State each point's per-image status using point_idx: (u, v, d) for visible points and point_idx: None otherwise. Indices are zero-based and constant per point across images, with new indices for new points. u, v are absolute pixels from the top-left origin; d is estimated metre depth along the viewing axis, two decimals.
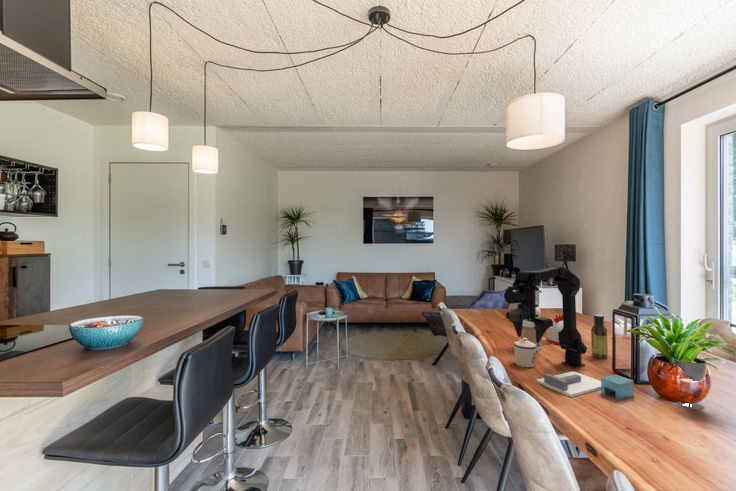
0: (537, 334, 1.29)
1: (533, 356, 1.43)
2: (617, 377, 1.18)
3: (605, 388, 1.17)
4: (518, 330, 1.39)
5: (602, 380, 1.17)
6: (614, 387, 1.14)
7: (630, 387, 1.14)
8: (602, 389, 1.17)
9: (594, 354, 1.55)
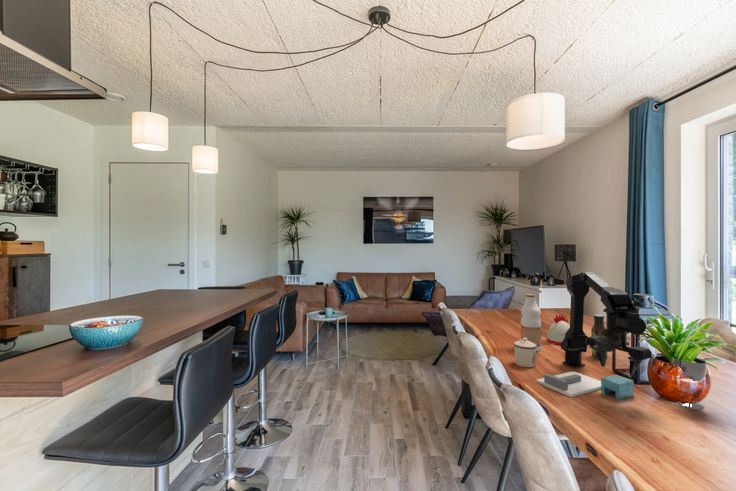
0: (631, 366, 1.11)
1: (533, 356, 1.43)
2: (617, 377, 1.18)
3: (605, 388, 1.17)
4: (602, 359, 1.21)
5: (602, 380, 1.17)
6: (614, 387, 1.14)
7: (630, 387, 1.14)
8: (602, 389, 1.17)
9: (594, 354, 1.55)
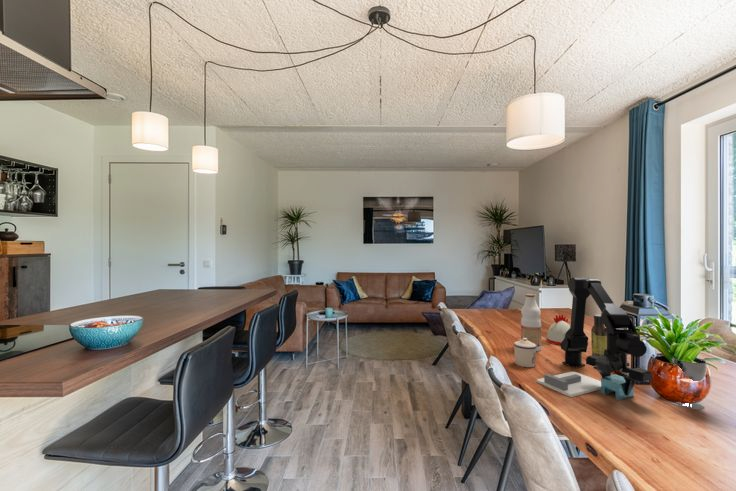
0: (627, 386, 1.12)
1: (533, 356, 1.43)
2: (617, 377, 1.18)
3: (605, 388, 1.17)
4: None
5: (602, 380, 1.17)
6: (614, 387, 1.14)
7: None
8: (602, 389, 1.17)
9: (594, 354, 1.55)
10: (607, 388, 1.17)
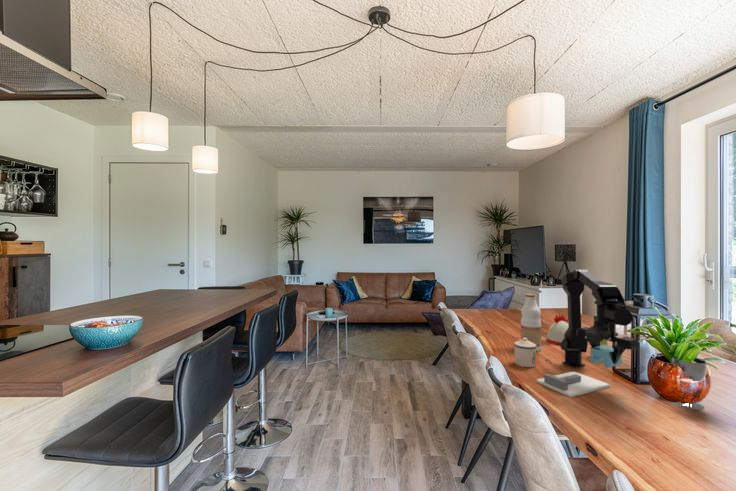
0: (615, 354, 1.17)
1: (533, 356, 1.43)
2: (606, 347, 1.22)
3: (594, 357, 1.21)
4: None
5: (591, 349, 1.22)
6: (603, 355, 1.18)
7: None
8: (591, 358, 1.22)
9: None
10: (596, 357, 1.22)
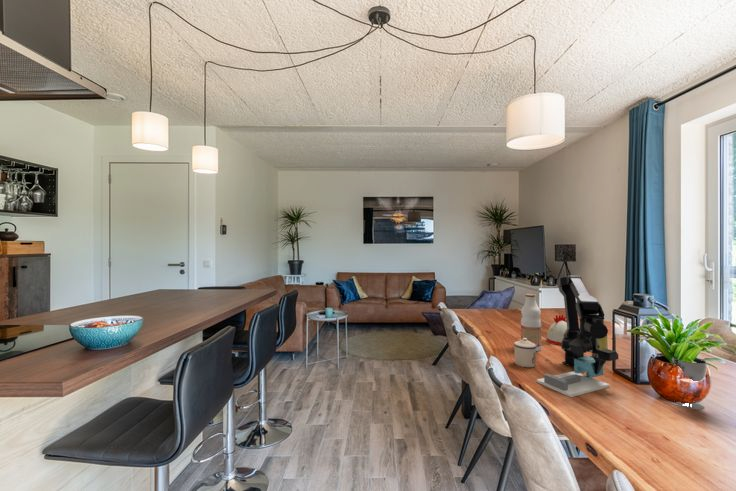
0: (597, 365, 1.25)
1: (533, 356, 1.43)
2: (589, 358, 1.30)
3: (578, 368, 1.29)
4: None
5: (575, 361, 1.29)
6: (585, 366, 1.26)
7: None
8: (575, 368, 1.30)
9: (594, 354, 1.55)
10: (579, 368, 1.29)
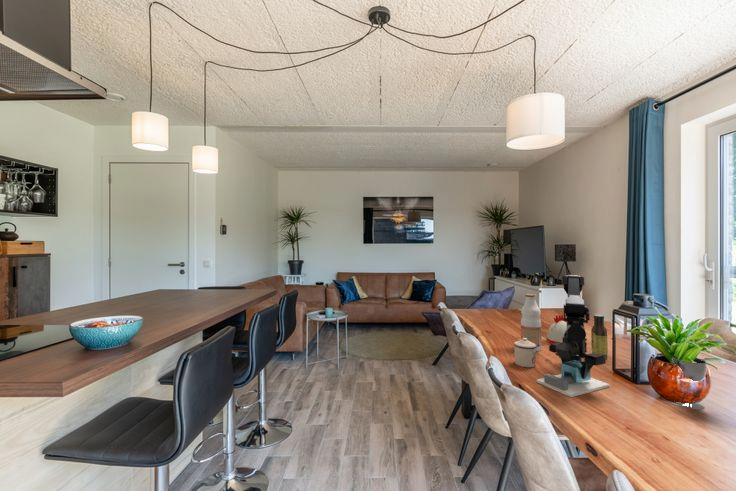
0: (584, 370, 1.21)
1: (533, 356, 1.43)
2: (576, 362, 1.27)
3: (565, 372, 1.26)
4: None
5: (562, 365, 1.26)
6: (572, 371, 1.23)
7: None
8: (562, 373, 1.26)
9: None
10: (567, 372, 1.26)
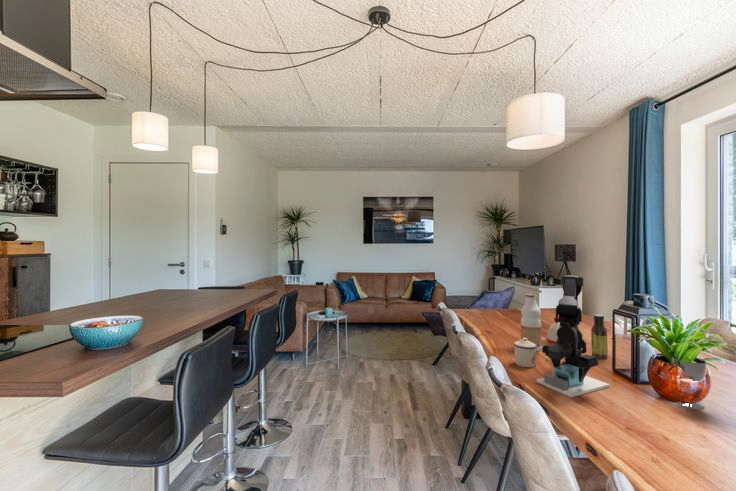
0: (580, 373, 1.19)
1: (533, 356, 1.43)
2: (569, 366, 1.25)
3: (557, 376, 1.25)
4: (556, 366, 1.28)
5: (555, 369, 1.25)
6: (564, 375, 1.21)
7: None
8: None
9: (594, 354, 1.55)
10: (559, 377, 1.25)
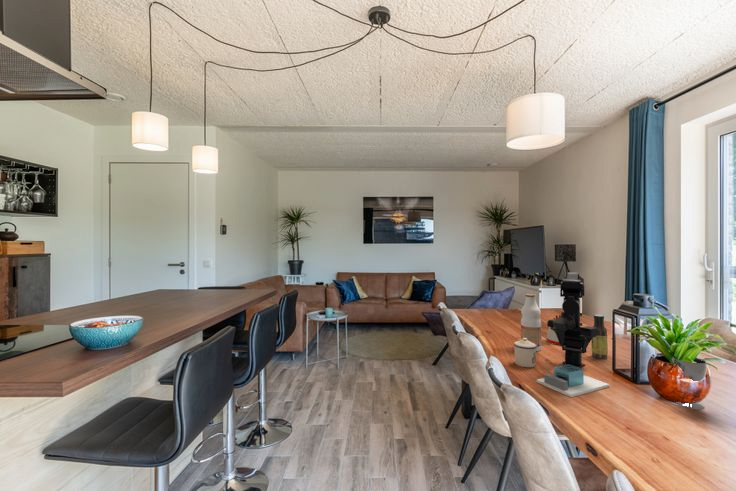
0: (583, 343, 1.28)
1: (533, 356, 1.43)
2: (569, 366, 1.25)
3: (557, 376, 1.25)
4: (560, 338, 1.38)
5: (555, 369, 1.25)
6: (564, 375, 1.21)
7: (580, 375, 1.22)
8: None
9: (594, 354, 1.55)
10: (559, 377, 1.25)
